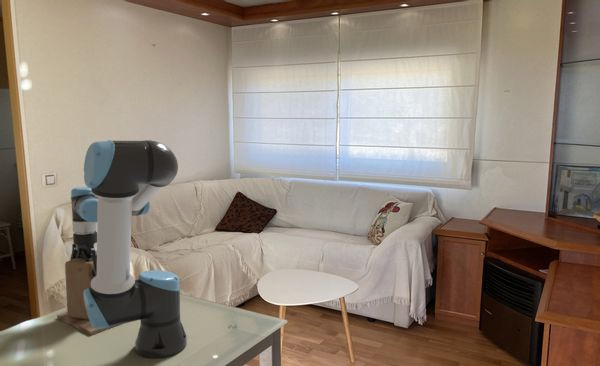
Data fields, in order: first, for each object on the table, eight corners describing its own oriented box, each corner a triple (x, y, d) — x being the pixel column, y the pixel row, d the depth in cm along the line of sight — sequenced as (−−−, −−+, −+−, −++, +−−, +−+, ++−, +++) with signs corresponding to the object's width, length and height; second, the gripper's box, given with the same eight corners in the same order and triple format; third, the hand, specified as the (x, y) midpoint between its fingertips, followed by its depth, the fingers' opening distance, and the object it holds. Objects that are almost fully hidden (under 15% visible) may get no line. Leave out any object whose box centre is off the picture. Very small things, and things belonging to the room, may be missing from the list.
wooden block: (91, 321, 156) (88, 264, 153) (66, 317, 158) (63, 261, 156) (110, 310, 165) (108, 256, 163) (86, 307, 168) (83, 253, 165)
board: (129, 320, 159) (129, 317, 159) (91, 335, 148) (91, 331, 148) (95, 306, 172) (94, 302, 172) (57, 318, 161) (57, 314, 161)
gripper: (115, 235, 154) (117, 296, 157) (77, 225, 168) (80, 281, 171) (93, 239, 148) (96, 303, 151) (56, 228, 162) (59, 287, 165)
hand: (87, 292), depth 161 cm, fingers closed on wooden block, 12 cm apart
